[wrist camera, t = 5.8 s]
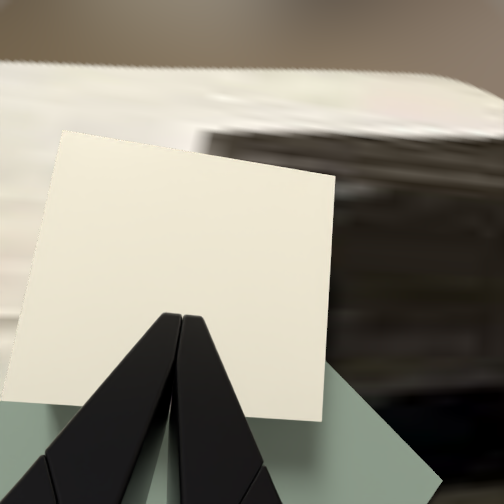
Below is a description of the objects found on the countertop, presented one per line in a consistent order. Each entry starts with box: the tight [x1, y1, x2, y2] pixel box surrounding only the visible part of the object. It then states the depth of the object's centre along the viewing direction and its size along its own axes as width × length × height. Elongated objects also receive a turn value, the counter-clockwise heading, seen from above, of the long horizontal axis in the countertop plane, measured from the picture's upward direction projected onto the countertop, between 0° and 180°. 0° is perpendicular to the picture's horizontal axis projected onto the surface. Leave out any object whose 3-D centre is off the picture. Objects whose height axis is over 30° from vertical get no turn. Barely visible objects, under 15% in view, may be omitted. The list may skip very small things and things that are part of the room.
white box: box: [0, 130, 335, 422], centre depth 13 cm, size 3×9×8 cm
